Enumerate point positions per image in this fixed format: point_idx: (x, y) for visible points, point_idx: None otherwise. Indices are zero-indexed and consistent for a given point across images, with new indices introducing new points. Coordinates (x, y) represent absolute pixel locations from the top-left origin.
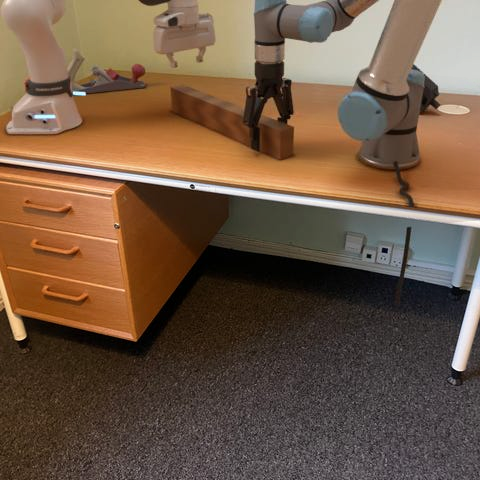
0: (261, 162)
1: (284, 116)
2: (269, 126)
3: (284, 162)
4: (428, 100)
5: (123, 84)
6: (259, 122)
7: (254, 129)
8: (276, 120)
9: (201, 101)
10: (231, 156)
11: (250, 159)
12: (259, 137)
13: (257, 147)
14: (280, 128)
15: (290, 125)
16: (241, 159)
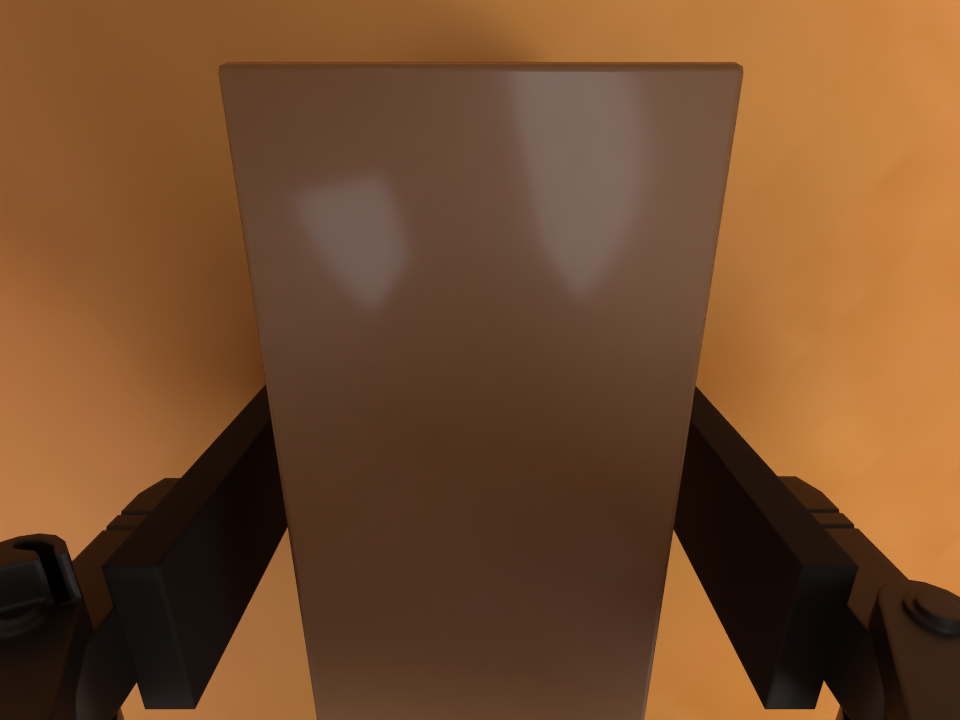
0: (774, 204)
1: (83, 645)
2: (680, 473)
3: (597, 14)
4: None
5: None
6: (638, 715)
7: (867, 583)
8: (323, 618)
9: None
10: (839, 497)
11: (784, 339)
12: (726, 459)
13: (705, 399)
14: (602, 212)
15: (247, 208)
16: (839, 393)
